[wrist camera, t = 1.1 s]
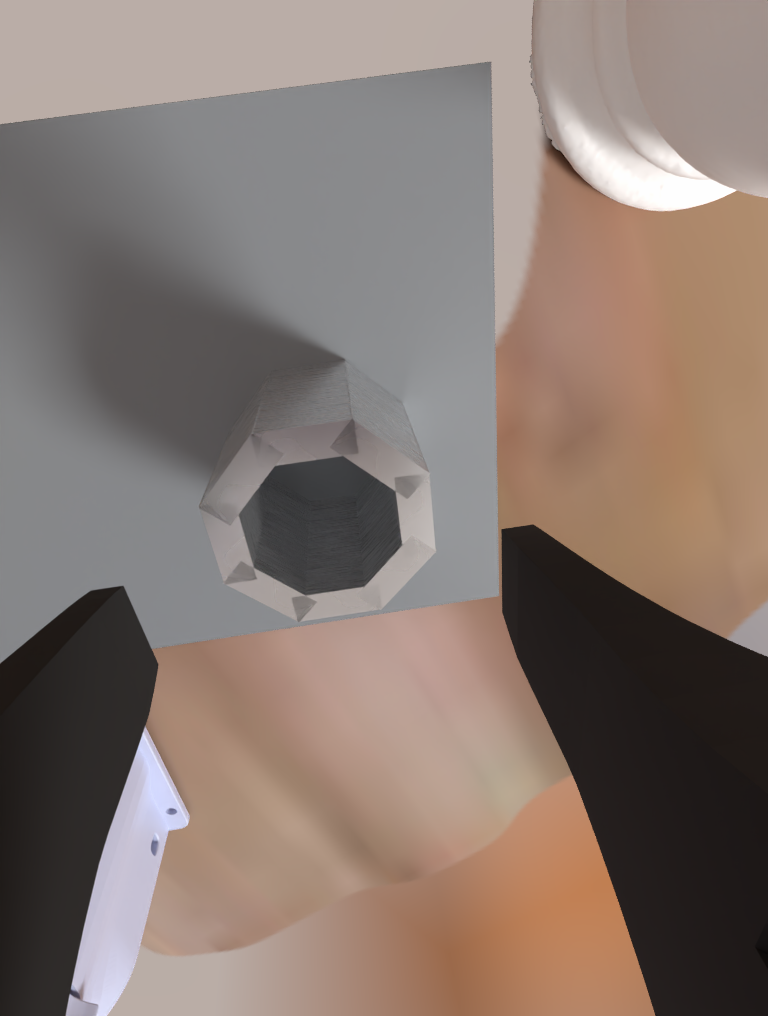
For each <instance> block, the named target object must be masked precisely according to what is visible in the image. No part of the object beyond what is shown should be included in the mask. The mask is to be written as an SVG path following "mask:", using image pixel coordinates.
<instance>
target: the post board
mask: <svg viewBox="0 0 768 1016" xmlns="http://www.w3.org/2000/svg"><path fill="white" fill-rule="evenodd" d="M491 90H492V88H491V62H485V63H478V64H469V65H462V66H454V67H446V68H438V69H431V70H423V71H416V72H407V73H399V74H392V75H384V76H376V77H368V78H360V79H352V80H345V81H336V82H328V83H321V84H313V85H306V86H297V87H289V88H281V89H274V90H267V91H258V92H250V93H243V94H235V95H227V96H219V97H211V98H203V99H195V100H188V101H180V102H172V103H164V104H157V105H149V106H141V107H133V108H125V109H117V110H109V111H102V112H94V113H86V114H78V115H70V116H63V117H54V118H47V119H39V120H31V121H23V122H15V123H8V124H1V125H0V663H1V662H2V661H4V660H5V659H6V658H7V657H8V656H10V655H11V654H12V653H13V652H15V651H16V650H17V649H18V648H19V647H21V646H22V645H23V644H24V643H25V642H27V641H28V640H29V639H30V638H31V637H33V636H34V635H35V634H36V633H37V632H39V631H40V630H41V629H42V628H43V627H45V626H46V625H47V624H48V623H50V622H51V621H52V620H53V619H54V618H56V617H57V616H58V615H59V614H60V613H62V612H63V611H64V610H65V609H67V608H68V607H69V606H70V605H72V604H73V603H74V602H76V601H77V600H78V599H80V598H81V597H82V596H84V595H85V594H87V593H88V592H90V591H91V590H97V589H104V588H111V587H117V586H124V588H125V590H126V592H127V595H128V597H129V599H130V601H131V604H132V606H133V608H134V610H135V613H136V615H137V617H138V620H139V622H140V624H141V626H142V629H143V631H144V633H145V635H146V638H147V640H148V642H149V644H150V647H151V649H154V648H161V647H167V646H174V645H180V644H187V643H193V642H200V641H206V640H213V639H220V638H226V637H233V636H239V635H246V634H252V633H259V632H265V631H272V630H279V629H285V628H292V627H298V626H305V625H311V624H318V623H324V622H331V621H338V620H344V619H351V618H357V617H364V616H370V615H377V614H383V613H390V612H397V611H403V610H410V609H416V608H423V607H429V606H436V605H442V604H449V603H456V602H462V601H469V600H475V599H482V598H488V597H495V596H499V569H498V500H497V431H496V362H495V298H494V296H495V294H494V231H493V230H494V227H493V226H494V225H493V158H492V156H493V155H492V93H491V92H492V91H491ZM344 359H345V360H346V361H348V362H349V363H350V364H352V365H353V366H354V367H356V368H357V369H358V370H360V371H361V372H362V373H363V374H365V375H366V376H367V377H369V378H370V379H371V380H373V381H374V382H375V383H377V384H378V385H379V386H381V387H382V388H383V389H385V390H386V391H387V392H389V393H390V394H391V395H393V396H394V397H395V398H397V399H398V400H399V401H401V402H402V403H403V405H404V408H405V410H406V413H407V415H408V418H409V420H410V423H411V426H412V428H413V431H414V433H415V436H416V439H417V441H418V444H419V446H420V449H421V452H422V454H423V457H424V459H425V462H426V465H427V467H428V470H429V472H430V487H431V500H432V512H433V524H434V536H435V548H436V553H434V554H433V556H432V557H431V558H430V559H429V560H428V561H427V562H426V563H425V564H424V565H423V566H422V567H421V568H420V569H419V570H418V571H417V572H416V573H415V575H414V576H413V577H412V578H411V579H410V580H409V581H408V582H407V583H406V584H405V585H404V586H403V587H402V588H401V589H400V590H399V591H398V592H397V594H396V595H395V596H394V597H393V598H392V599H391V600H390V601H389V602H388V603H387V604H386V605H385V606H384V607H383V608H382V609H381V610H374V611H367V612H361V613H354V614H347V615H341V616H334V617H328V618H321V619H315V620H308V621H301V622H298V621H296V620H294V619H292V618H290V617H288V616H286V615H284V614H282V613H280V612H278V611H276V610H274V609H272V608H270V607H268V606H266V605H265V604H263V603H261V602H259V601H257V600H255V599H253V598H251V597H249V596H247V595H245V594H243V593H241V592H239V591H237V590H235V589H233V588H231V587H229V586H228V585H226V584H224V583H223V579H222V576H221V573H220V570H219V567H218V563H217V560H216V557H215V554H214V551H213V548H212V545H211V542H210V539H209V536H208V533H207V530H206V527H205V524H204V520H203V517H202V514H201V511H200V508H199V505H200V502H201V500H202V497H203V495H204V492H205V490H206V488H207V485H208V483H209V480H210V478H211V475H212V473H213V471H214V468H215V466H216V463H217V461H218V458H219V456H220V454H221V451H222V449H223V446H224V444H225V441H226V439H227V437H228V434H229V432H230V429H231V427H232V426H233V425H234V423H235V422H236V420H237V419H238V417H239V416H240V415H241V413H242V412H243V410H244V409H245V407H246V406H247V404H248V403H249V402H250V400H251V399H252V397H253V396H254V394H255V393H256V391H257V390H258V388H259V387H260V386H261V384H262V383H263V381H264V380H265V378H266V377H267V375H268V374H269V373H270V370H275V369H283V368H290V367H297V366H304V365H311V364H318V363H325V362H332V361H339V360H344ZM270 473H271V477H273V478H274V479H276V480H278V481H279V482H281V483H282V484H284V485H286V486H287V487H289V488H291V489H292V490H294V491H295V492H297V493H299V494H300V495H302V496H303V497H305V498H307V499H308V500H310V501H311V500H318V499H325V498H331V497H338V496H345V495H352V494H356V492H357V491H358V490H359V489H360V488H361V486H362V485H363V484H364V483H365V482H366V480H367V479H368V478H369V477H370V476H371V474H369V473H368V472H366V471H365V470H363V469H362V468H360V467H359V466H357V465H356V464H354V463H353V462H351V461H350V460H348V459H347V458H345V457H344V456H340V457H333V458H326V459H319V460H312V461H305V462H298V463H291V464H285V465H278V466H274V468H273V469H272V470H271V472H270Z"/></svg>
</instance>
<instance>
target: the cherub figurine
mask: <svg viewBox="0 0 768 1016" xmlns="http://www.w3.org/2000/svg"><path fill="white" fill-rule="evenodd" d="M530 62H531V68H532V71H531V78H533V82H532V83H531V85H532V86H533V88H534V92H535V94H536V96H537V99H538V103H539V112H540V113H543V116H542V117H541V118H543V120H542V125H544V126H545V132H546V135H547V137H548V138H549V139H552V145H553V146H554V147H555V148H556V149H557V150H559V151H561V152H562V153H563V155H564V156H565V158H566V159H567V160H568V161H569V163H570V164H571V165H572V167H573V168H574V170H575V171H576V172H577V173H578V174H579V175H580V176H581V177H582V178H583V179H584V180H585V181H586V182H587V183H589V184H590V185H591V186H592V187H593V188H594V189H596V190H598V191H599V192H601V193H602V194H604V195H606V196H607V197H609V198H611V199H613V200H615V201H617V202H619V203H623V204H625V205H629V206H632V207H636V208H640V209H645V210H652V211H674V210H679V209H687V208H691V207H695V206H698V205H702V204H706V203H709V202H712V201H714V200H717V199H720V198H722V197H724V196H726V195H728V194H730V193H732V192H735V191H737V190H738V191H741V192H744V193H747V194H751V195H755V196H761V197H765V198H768V0H534V6H533V17H532V55H531V59H530Z"/></svg>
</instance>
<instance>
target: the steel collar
mask: <svg viewBox="0 0 768 1016" xmlns="http://www.w3.org/2000/svg"><path fill="white" fill-rule="evenodd" d="M340 456H344V457H345V458H347V459H348V460H350V461H351V462H353V463H354V464H356V465H357V466H359V467H360V468H362V469H363V470H365V471H366V472H368V473H369V474H371V476H370V477H369V478H368V479H367V480H366V482H365V483H364V484H363V485H362V486H361V488H360V489H359V490H358V491H357V492H356V494H352V495H345V496H338V497H331V498H325V499H318V500H311V501H310V500H308V499H307V498H305V497H303V496H302V495H300V494H299V493H297V492H295V491H294V490H292V489H291V488H289V487H287V486H286V485H284V484H282V483H281V482H279V481H278V480H276V479H274V478H273V477H271V473H270V472H271V470H272V469H273V468H274V466H278V465H285V464H291V463H298V462H305V461H312V460H319V459H326V458H333V457H340ZM199 508H200V511H201V514H202V517H203V520H204V524H205V527H206V530H207V533H208V536H209V539H210V542H211V545H212V548H213V551H214V554H215V557H216V560H217V563H218V567H219V570H220V573H221V576H222V579H223V583H224V584H226V585H228V586H229V587H231V588H233V589H235V590H237V591H239V592H241V593H243V594H245V595H247V596H249V597H251V598H253V599H255V600H257V601H259V602H261V603H263V604H265V605H266V606H268V607H270V608H272V609H274V610H276V611H278V612H280V613H282V614H284V615H286V616H288V617H290V618H292V619H294V620H296V621H298V622H301V621H308V620H315V619H321V618H328V617H334V616H341V615H347V614H354V613H361V612H367V611H374V610H381V609H382V608H383V607H384V606H385V605H386V604H387V603H388V602H389V601H390V600H391V599H392V598H393V597H394V596H395V595H396V594H397V592H398V591H399V590H400V589H401V588H402V587H403V586H404V585H405V584H406V583H407V582H408V581H409V580H410V579H411V578H412V577H413V576H414V575H415V573H416V572H417V571H418V570H419V569H420V568H421V567H422V566H423V565H424V564H425V563H426V562H427V561H428V560H429V559H430V558H431V557H432V556H433V554H434V553H436V548H435V536H434V524H433V512H432V500H431V487H430V472H429V470H428V467H427V465H426V462H425V459H424V457H423V454H422V452H421V449H420V446H419V444H418V441H417V439H416V436H415V433H414V431H413V428H412V426H411V423H410V420H409V418H408V415H407V413H406V410H405V408H404V405H403V403H402V402H401V401H399V400H398V399H397V398H395V397H394V396H393V395H391V394H390V393H389V392H387V391H386V390H385V389H383V388H382V387H381V386H379V385H378V384H377V383H375V382H374V381H373V380H371V379H370V378H369V377H367V376H366V375H365V374H363V373H362V372H361V371H360V370H358V369H357V368H356V367H354V366H353V365H352V364H350V363H349V362H348V361H346V360H345V359H344V360H339V361H332V362H325V363H318V364H311V365H304V366H297V367H290V368H283V369H275V370H270V373H269V374H268V375H267V377H266V378H265V380H264V381H263V383H262V384H261V386H260V387H259V388H258V390H257V391H256V393H255V394H254V396H253V397H252V399H251V400H250V402H249V403H248V404H247V406H246V407H245V409H244V410H243V412H242V413H241V415H240V416H239V417H238V419H237V420H236V422H235V423H234V425H233V426H232V427H231V429H230V432H229V434H228V437H227V439H226V441H225V444H224V446H223V449H222V451H221V454H220V456H219V458H218V461H217V463H216V466H215V468H214V471H213V473H212V475H211V478H210V480H209V483H208V485H207V488H206V490H205V492H204V495H203V497H202V500H201V502H200V505H199Z"/></svg>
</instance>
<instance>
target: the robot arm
mask: <svg viewBox="0 0 768 1016" xmlns="http://www.w3.org/2000/svg"><path fill="white" fill-rule="evenodd" d="M502 612H503V615H504V619H505V622H506V625H507V628H508V631H509V634H510V637H511V640H512V643H513V646H514V649H515V652H516V655H517V658H518V660H519V662H520V664H521V667H522V669H523V671H524V673H525V675H526V677H527V679H528V681H529V684H530V686H531V688H532V690H533V692H534V694H535V696H536V698H537V700H538V703H539V705H540V707H541V709H542V711H543V713H544V715H545V717H546V719H547V721H548V723H549V726H550V728H551V730H552V732H553V734H554V736H555V738H556V740H557V742H558V744H559V746H560V749H561V751H562V753H563V755H564V757H565V759H566V761H567V763H568V766H569V768H570V770H571V773H572V775H573V777H574V779H575V782H576V784H577V787H578V789H579V792H580V795H581V798H582V800H583V803H584V806H585V809H586V811H587V814H588V817H589V820H590V822H591V825H592V828H593V830H594V833H595V836H596V839H597V841H598V844H599V847H600V850H601V853H602V856H603V859H604V861H605V864H606V867H607V870H608V873H609V876H610V879H611V881H612V884H613V887H614V890H615V893H616V896H617V899H618V902H619V905H620V907H621V910H622V914H623V916H624V920H625V922H626V926H627V929H628V932H629V935H630V938H631V941H632V944H633V947H634V949H635V953H636V956H637V959H638V962H639V965H640V968H641V971H642V974H643V977H644V980H645V983H646V987H647V990H648V993H649V996H650V999H651V1002H652V1006H653V1009H654V1012H655V1015H656V1016H768V657H767V656H764V655H762V654H759V653H757V652H754V651H752V650H750V649H747V648H745V647H743V646H741V645H738V644H736V643H734V642H732V641H729V640H727V639H725V638H723V637H721V636H719V635H717V634H715V633H713V632H711V631H708V630H706V629H704V628H702V627H700V626H698V625H696V624H694V623H692V622H690V621H688V620H686V619H684V618H682V617H680V616H678V615H676V614H674V613H672V612H670V611H669V610H667V609H665V608H663V607H661V606H660V605H658V604H656V603H654V602H653V601H651V600H649V599H647V598H646V597H644V596H642V595H640V594H639V593H637V592H635V591H633V590H632V589H630V588H628V587H627V586H625V585H624V584H622V583H620V582H619V581H617V580H615V579H614V578H612V577H611V576H609V575H607V574H606V573H604V572H603V571H601V570H600V569H598V568H597V567H595V566H594V565H592V564H591V563H589V562H588V561H586V560H585V559H583V558H582V557H580V556H579V555H577V554H576V553H574V552H573V551H571V550H570V549H568V548H567V547H566V546H564V545H563V544H561V543H560V542H558V541H557V540H555V539H554V538H553V537H551V536H550V535H548V534H547V533H545V532H544V531H542V530H541V529H539V528H538V527H536V526H535V525H527V526H520V527H514V528H507V529H502ZM157 670H158V663H157V660H156V658H155V656H154V653H153V651H152V649H151V647H150V644H149V642H148V640H147V638H146V635H145V633H144V631H143V629H142V626H141V624H140V622H139V620H138V617H137V615H136V613H135V610H134V608H133V606H132V604H131V601H130V599H129V597H128V595H127V592H126V590H125V588H124V586H117V587H111V588H104V589H97V590H91V591H90V592H88V593H87V594H85V595H84V596H82V597H81V598H80V599H78V600H77V601H76V602H74V603H73V604H72V605H70V606H69V607H68V608H67V609H65V610H64V611H63V612H62V613H60V614H59V615H58V616H57V617H56V618H54V619H53V620H52V621H51V622H50V623H48V624H47V625H46V626H45V627H43V628H42V629H41V630H40V631H39V632H37V633H36V634H35V635H34V636H33V637H31V638H30V639H29V640H28V641H27V642H25V643H24V644H23V645H22V646H21V647H19V648H18V649H17V650H16V651H15V652H13V653H12V654H11V655H10V656H8V657H7V658H6V659H5V660H4V661H2V662H1V663H0V1016H107V1014H108V1013H109V1011H110V1010H111V1009H112V1007H113V1006H114V1005H115V1003H116V1002H117V1000H118V999H119V997H120V996H121V994H122V992H123V990H124V988H125V986H126V984H127V983H128V981H129V978H130V976H131V974H132V971H133V969H134V966H135V963H136V960H137V956H138V952H139V948H140V944H141V940H142V936H143V932H144V928H145V924H146V920H147V916H148V912H149V908H150V904H151V900H152V896H153V892H154V888H155V883H156V879H157V875H158V871H159V867H160V863H161V859H162V855H163V851H164V847H165V843H166V839H167V835H168V831H169V830H175V829H181V828H184V827H186V826H187V825H188V822H189V818H190V817H189V814H188V812H187V810H186V808H185V805H184V803H183V801H182V799H181V797H180V795H179V793H178V791H177V789H176V787H175V785H174V783H173V781H172V779H171V777H170V775H169V773H168V771H167V769H166V767H165V765H164V763H163V761H162V759H161V757H160V755H159V753H158V751H157V749H156V747H155V745H154V743H153V741H152V739H151V737H150V735H149V733H148V731H147V729H146V727H145V725H146V722H147V719H148V716H149V712H150V707H151V702H152V697H153V693H154V687H155V681H156V676H157Z"/></svg>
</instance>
